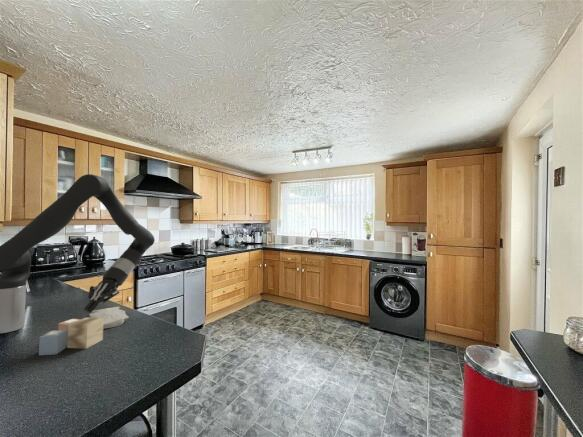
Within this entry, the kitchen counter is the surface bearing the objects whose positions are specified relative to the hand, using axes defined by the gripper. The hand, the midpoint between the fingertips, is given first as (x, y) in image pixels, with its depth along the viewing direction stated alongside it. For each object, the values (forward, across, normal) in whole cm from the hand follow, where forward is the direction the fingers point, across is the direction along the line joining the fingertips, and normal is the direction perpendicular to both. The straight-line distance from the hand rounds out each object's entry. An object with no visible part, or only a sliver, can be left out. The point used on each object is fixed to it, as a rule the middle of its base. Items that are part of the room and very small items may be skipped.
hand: (87, 311), depth 91 cm
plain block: (+8, 0, +8) cm, 12 cm away
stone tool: (-6, -14, +23) cm, 27 cm away
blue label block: (+13, -5, +3) cm, 14 cm away
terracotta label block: (+7, -11, +10) cm, 16 cm away
